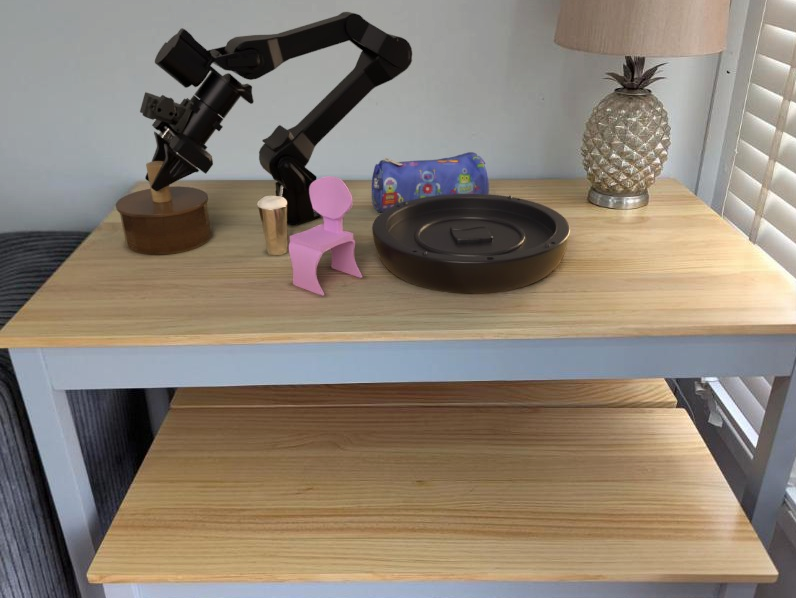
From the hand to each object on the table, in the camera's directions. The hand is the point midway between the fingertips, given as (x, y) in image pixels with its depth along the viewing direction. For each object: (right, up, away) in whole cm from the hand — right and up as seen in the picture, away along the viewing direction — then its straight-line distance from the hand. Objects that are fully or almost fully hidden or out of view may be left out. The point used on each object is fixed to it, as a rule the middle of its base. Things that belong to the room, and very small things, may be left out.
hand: (150, 184), depth 125 cm
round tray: (+51, -12, -4) cm, 53 cm away
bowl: (+1, -8, +5) cm, 10 cm away
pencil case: (+45, 0, +18) cm, 49 cm away
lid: (+1, -2, +2) cm, 3 cm away
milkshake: (+21, -11, 0) cm, 23 cm away
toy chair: (+30, -17, -11) cm, 36 cm away
